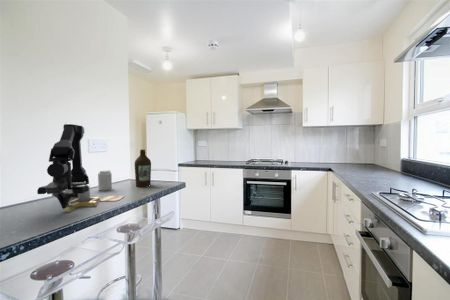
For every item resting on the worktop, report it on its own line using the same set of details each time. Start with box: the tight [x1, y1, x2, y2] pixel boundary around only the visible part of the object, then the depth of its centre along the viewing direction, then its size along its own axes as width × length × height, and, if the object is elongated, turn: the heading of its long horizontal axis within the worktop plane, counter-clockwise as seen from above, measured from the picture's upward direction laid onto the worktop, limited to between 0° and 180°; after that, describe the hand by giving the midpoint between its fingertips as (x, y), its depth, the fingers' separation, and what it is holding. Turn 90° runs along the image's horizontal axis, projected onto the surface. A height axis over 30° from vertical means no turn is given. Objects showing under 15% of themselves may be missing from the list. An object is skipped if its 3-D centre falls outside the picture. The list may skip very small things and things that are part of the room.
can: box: [97, 169, 113, 192], centre depth 141 cm, size 8×8×12 cm
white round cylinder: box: [77, 184, 91, 202], centre depth 109 cm, size 5×5×9 cm
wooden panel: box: [99, 195, 125, 202], centre depth 119 cm, size 9×9×1 cm
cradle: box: [69, 196, 101, 204], centre depth 111 cm, size 11×8×2 cm
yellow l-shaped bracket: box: [65, 201, 98, 212], centre depth 102 cm, size 9×9×3 cm
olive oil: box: [134, 149, 152, 188], centre depth 151 cm, size 11×11×25 cm
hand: (64, 208), depth 99 cm, fingers closed
